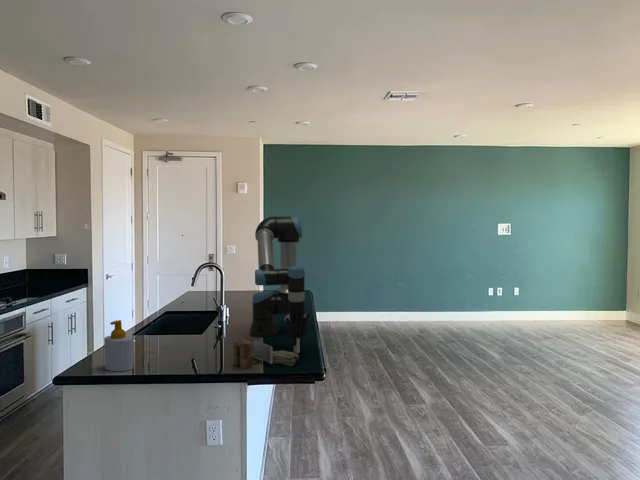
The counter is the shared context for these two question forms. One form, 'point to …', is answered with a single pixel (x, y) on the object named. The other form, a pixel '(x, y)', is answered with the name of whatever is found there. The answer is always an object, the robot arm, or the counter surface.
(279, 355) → the mushroom
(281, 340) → the counter surface
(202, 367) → the counter surface
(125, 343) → the soap bottle
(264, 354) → the plate
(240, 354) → the base
